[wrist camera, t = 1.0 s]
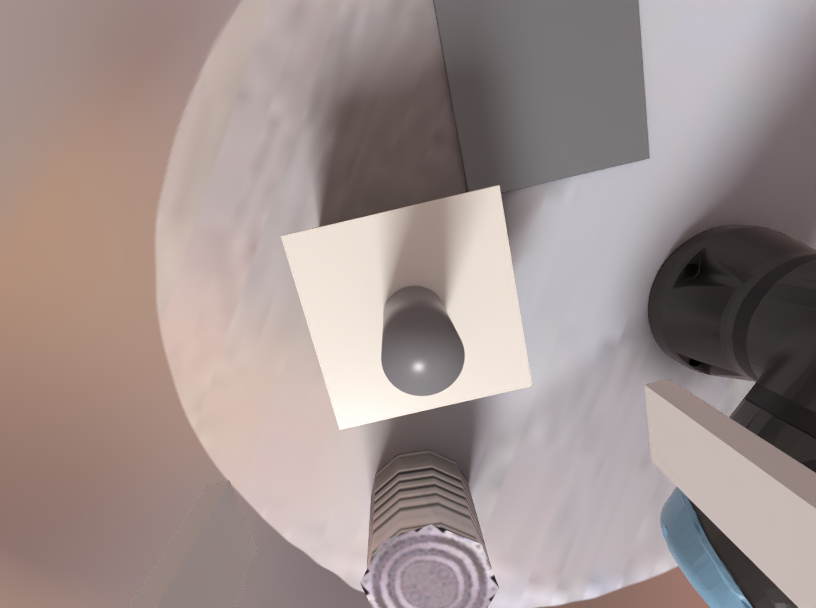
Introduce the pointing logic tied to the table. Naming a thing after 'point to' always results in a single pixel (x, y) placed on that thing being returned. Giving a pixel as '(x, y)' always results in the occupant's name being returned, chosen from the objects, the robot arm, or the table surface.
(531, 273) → the table surface
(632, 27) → the mat
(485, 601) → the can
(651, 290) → the robot arm
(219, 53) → the table surface
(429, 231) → the lid
